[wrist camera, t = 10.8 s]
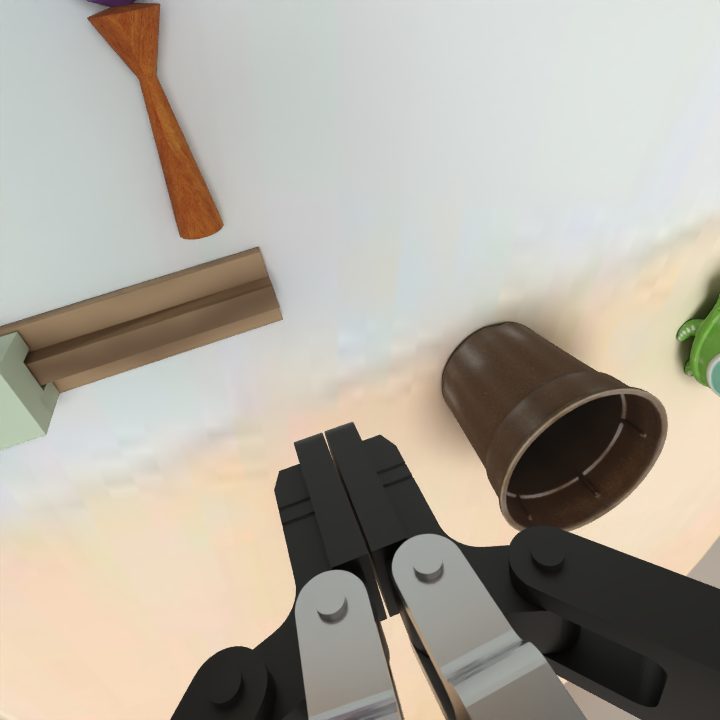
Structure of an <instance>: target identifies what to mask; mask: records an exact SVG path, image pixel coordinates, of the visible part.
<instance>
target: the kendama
mask: <svg viewBox="0 0 720 720" xmlns="http://www.w3.org/2000/svg"><path fill="white" fill-rule="evenodd" d="M87 1H89V2H93V3H97V4H101V5H105V6H109V7H111V8H109V9H106V10H104V11H102V12H99V13H97V14H95V15H92V16H90V17H88V18H87V19H88V20H89V21H90V22H91V24H92V25H93V26H94V27H95V28H96V29H97V31H98V32H99V33H100V34H101V35H102V36H103V38H104V39H105V40H106V41H107V42H108V43H109V45H110V46H111V47H112V48H113V49H114V51H115V52H116V53H117V54H118V55H119V56H120V58H121V59H122V60H123V61H124V62H125V63H126V65H127V66H128V67H129V68H130V69H131V70H132V72H133V73H134V74H135V75H136V76H137V77H138V79H139V81H140V85H141V89H142V92H143V96H144V100H145V104H146V108H147V112H148V115H149V119H150V123H151V127H152V131H153V135H154V138H155V142H156V146H157V150H158V154H159V158H160V161H161V165H162V169H163V173H164V177H165V181H166V184H167V188H168V192H169V196H170V200H171V203H172V207H173V211H174V215H175V219H176V223H177V226H178V230H179V234H180V237H182V238H183V239H190V240H191V239H200V238H204V237H207V236H210V235H212V234H214V233H216V232H218V231H219V230H220V229H222V227H223V225H224V224H223V221H222V219H221V217H220V215H219V213H218V210H217V208H216V206H215V204H214V201H213V199H212V197H211V195H210V193H209V190H208V188H207V186H206V184H205V182H204V179H203V177H202V175H201V173H200V171H199V168H198V166H197V164H196V162H195V160H194V157H193V155H192V153H191V151H190V149H189V146H188V144H187V142H186V140H185V137H184V135H183V133H182V131H181V129H180V126H179V124H178V122H177V120H176V118H175V115H174V113H173V111H172V109H171V107H170V104H169V102H168V100H167V98H166V96H165V93H164V91H163V89H162V87H161V85H160V82H159V80H158V78H157V76H156V71H157V52H158V33H159V13H160V4H149V3H133V2H134V1H136V0H87Z"/></svg>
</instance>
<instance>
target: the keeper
mask: <svg viewBox="0 0 720 720" xmlns="http://www.w3.org/2000/svg"><path fill="white" fill-rule="evenodd" d="M28 351H29V348H28V346H27V345H26V343H25V342H24V340H23V339H22V337H21V336H20V335H19V333H18V332H14V333H11V334H8V335H4V336H1V337H0V450H3V449H6V448H9V447H12V446H15V445H18V444H21V443H24V442H27V441H29V440H32V439H35V438H38V437H41V436H44V435H46V434H47V431H48V427H49V424H50V421H51V418H52V415H53V412H54V408H55V405H56V402H57V399H58V396H59V391H58V390H57V388H56V387H55V386H54V384H53V383H52V382H50V383H47V384H44V385H41V386H40V385H39V384H38V382H37V381H36V380H35V378H34V377H33V375H32V374H31V372H30V371H29V370H28V368H27V367H26V365H25V364H24V363H23V361H24V359H25V357H26V355H27V353H28Z"/></svg>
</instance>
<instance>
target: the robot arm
mask: <svg viewBox="0 0 720 720" xmlns="http://www.w3.org/2000/svg"><path fill="white" fill-rule="evenodd" d="M325 436H326V439H327V442H328V446H329V449H330V452H331V454H330V452H329V449H328V446H327V444H326V441H325V438H324V436H323V433H319V434H317V435H314V436H311V437H308V438H305V439H302V440H300V441H297V442H294V446H295V449H296V452H297V456H298V459H299V462H300V464H298V465H295V466H292V467H289V468H286V469H284V470H281V471H279V474H278V478H277V482H276V485H275V489H274V491H275V496H276V500H277V504H278V509H279V513H280V518H281V522H282V525H283V531H284V535H285V540H286V544H287V548H288V553H289V557H290V561H291V566H292V570H293V575H294V579H295V584H296V597H295V602H294V605H293V608H292V610H291V612H290V614H289V616H288V617H287V619H286V620H285V622H284V623H283V624H282V625H281V626H280V627H279V628H278V629H277V630H276V631H275V632H274V633H273V634H272V635H270V636H269V637H268V638H267V639H265V640H264V641H263V642H262V643H260V644H259V645H258V646H257V647H255V648H254V649H253V650H252V649H250V648H247V647H242V646H235V647H229V648H226V649H223V650H221V651H219V652H217V653H216V654H214V655H213V656H212V657H210V658H209V659H208V660H207V661H206V662H205V663H204V664H203V665H202V666H201V667H200V669H199V670H198V672H197V673H196V675H195V676H194V678H193V680H192V682H191V683H190V685H189V687H188V689H187V691H186V692H185V694H184V696H183V698H182V700H181V701H180V703H179V705H178V707H177V709H176V710H175V712H174V714H173V716H172V718H171V719H170V720H405V718H404V715H403V711H402V707H401V704H400V700H399V696H398V692H397V689H396V685H395V681H394V678H393V674H392V670H391V666H390V663H389V660H390V655H389V649H388V645H387V642H386V639H385V636H384V632H383V629H382V626H381V623H380V621H383V620H385V619H387V616H386V613H385V609H384V606H383V602H382V599H381V595H380V592H379V589H380V591H381V594H382V597H383V599H384V602H385V605H386V607H387V610H388V613H389V615H390V617H392V616H394V615H397V614H399V613H400V615H401V618H402V620H403V623H404V625H405V628H406V630H407V633H408V636H409V639H410V643H411V647H412V650H413V652H414V654H415V656H416V659H417V661H418V663H419V665H420V667H421V669H422V671H423V673H424V675H425V677H426V679H427V681H428V684H429V686H430V688H431V690H432V692H433V694H434V696H435V698H436V700H437V702H438V704H439V706H440V709H441V711H442V713H443V715H444V717H445V719H446V720H587V719H586V717H585V716H584V714H583V713H582V711H581V710H580V708H579V707H578V706H577V704H576V703H575V701H574V700H573V698H572V697H571V695H570V694H569V693H568V691H567V690H566V689H565V687H564V685H563V684H562V682H561V681H560V679H559V678H558V676H560V677H562V678H564V679H566V680H567V681H569V682H572V683H573V684H575V685H577V686H579V687H581V688H583V689H584V690H586V691H589V692H590V693H592V694H594V695H596V696H598V697H600V698H601V699H603V700H605V701H607V702H609V703H611V704H613V705H615V706H617V707H618V708H620V709H623V710H624V711H626V712H628V713H630V714H632V715H634V716H635V717H637V718H639V719H641V720H720V589H718V588H715V587H712V586H710V585H708V584H704V583H702V582H700V581H697V580H694V579H692V578H689V577H686V576H684V575H681V574H678V573H676V572H673V571H670V570H668V569H665V568H662V567H660V566H657V565H655V564H652V563H649V562H647V561H644V560H641V559H639V558H636V557H633V556H631V555H628V554H625V553H623V552H620V551H617V550H615V549H612V548H609V547H607V546H604V545H601V544H599V543H596V542H593V541H591V540H588V539H586V538H583V537H580V536H578V535H575V534H572V533H570V532H567V531H564V530H562V529H559V528H556V527H552V526H541V525H540V526H533V527H529V528H526V529H524V530H522V531H521V532H519V533H518V534H517V535H516V536H515V537H514V538H513V540H512V541H511V543H510V545H506V546H492V547H473V546H468V545H464V544H461V543H459V542H457V541H455V540H453V539H452V538H450V537H449V536H448V535H447V534H446V533H445V532H444V531H443V530H442V529H441V527H440V525H439V524H438V522H437V520H436V518H435V516H434V515H433V513H432V511H431V509H430V507H429V505H428V504H427V502H426V500H425V498H424V496H423V494H422V493H421V491H420V489H419V487H418V485H417V483H416V482H415V480H414V478H413V477H412V474H411V472H410V471H409V469H408V467H407V465H406V464H405V461H404V460H403V458H402V456H401V454H400V452H399V450H398V449H397V447H396V445H394V444H393V443H391V442H390V441H389V440H387V439H386V438H384V437H383V436H381V435H378V436H375V437H372V438H369V439H367V440H364V441H362V440H361V438H360V435H359V433H358V431H357V429H356V427H355V425H354V423H353V422H350V423H347V424H344V425H342V426H339V427H336V428H333V429H330V430H328V431H325ZM331 455H332V457H331ZM376 581H377V582H376ZM377 583H378V585H377ZM378 586H379V589H378ZM557 675H558V676H557Z"/></svg>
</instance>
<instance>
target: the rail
mask: <svg viewBox="0 0 720 720" xmlns="http://www.w3.org/2000/svg"><path fill="white" fill-rule="evenodd" d="M279 308H280V307H279V304H278V301H277V298H276V295H275V292H274V289H273V286H272V284H271V281H270V279H269V276H268V273H267V270H266V267H265V264H264V261H263V258H262V255H261V252H260V249H259V247H256V248H253V249H250V250H247V251H244V252H240V253H237V254H234V255H231V256H227V257H224V258H221V259H218V260H214V261H211V262H208V263H205V264H201V265H198V266H195V267H192V268H188V269H185V270H182V271H179V272H175V273H172V274H169V275H166V276H163V277H159V278H156V279H153V280H150V281H146V282H143V283H140V284H137V285H133V286H130V287H127V288H124V289H120V290H117V291H114V292H111V293H107V294H104V295H101V296H98V297H95V298H91V299H88V300H85V301H82V302H78V303H75V304H72V305H69V306H65V307H62V308H59V309H56V310H52V311H49V312H46V313H43V314H39V315H36V316H33V317H30V318H26V319H23V320H20V321H17V322H14V323H10V324H7V325H4V326H1V327H0V337H1V336H4V335H8V334H11V333H14V332H18V333H19V335H20V336H21V337H22V339H23V340H24V342H25V343H26V345H27V346H28V348H29V351H28V353H27V355H26V357H25V359H24V361H23V363H24V364H25V365H26V367H27V368H28V370H29V371H30V372H31V374H32V375H33V377H34V378H35V380H36V381H37V382H38V384H39V385H40V386H41V385H44V384H47V383H50V382H52V383H53V384H54V386H55V387H56V388H57V390H58V391H59V393H62V392H65V391H68V390H71V389H74V388H77V387H80V386H83V385H86V384H89V383H92V382H95V381H98V380H101V379H104V378H107V377H110V376H113V375H116V374H119V373H122V372H125V371H128V370H131V369H134V368H137V367H140V366H144V365H147V364H150V363H153V362H156V361H159V360H162V359H165V358H168V357H171V356H174V355H177V354H180V353H183V352H186V351H189V350H192V349H195V348H198V347H201V346H204V345H207V344H210V343H213V342H216V341H219V340H222V339H225V338H228V337H231V336H234V335H237V334H240V333H243V332H246V331H249V330H253V329H256V328H259V327H262V326H265V325H268V324H271V323H274V322H277V321H280V320H283V318H282V315H281V312H280V309H279Z"/></svg>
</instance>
